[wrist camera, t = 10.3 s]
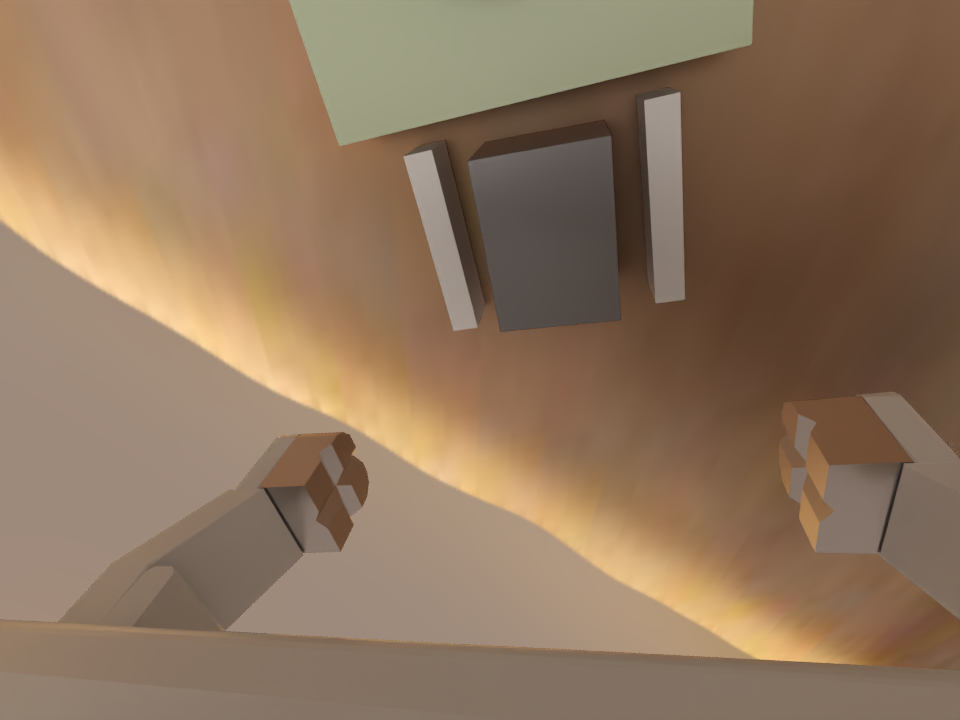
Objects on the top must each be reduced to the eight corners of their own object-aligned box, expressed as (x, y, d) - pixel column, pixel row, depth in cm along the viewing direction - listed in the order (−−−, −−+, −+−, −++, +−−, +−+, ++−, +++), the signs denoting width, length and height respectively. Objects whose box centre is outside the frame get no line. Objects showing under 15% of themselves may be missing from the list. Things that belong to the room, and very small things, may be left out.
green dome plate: (724, -508, 12) (906, -1153, 6) (715, 270, 23) (777, 364, 16) (251, -270, 16) (19, -500, 9) (430, 312, 26) (383, 403, 20)
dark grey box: (603, 119, 20) (611, 135, 17) (612, 277, 24) (620, 320, 20) (485, 141, 22) (467, 161, 18) (510, 288, 25) (500, 331, 21)
